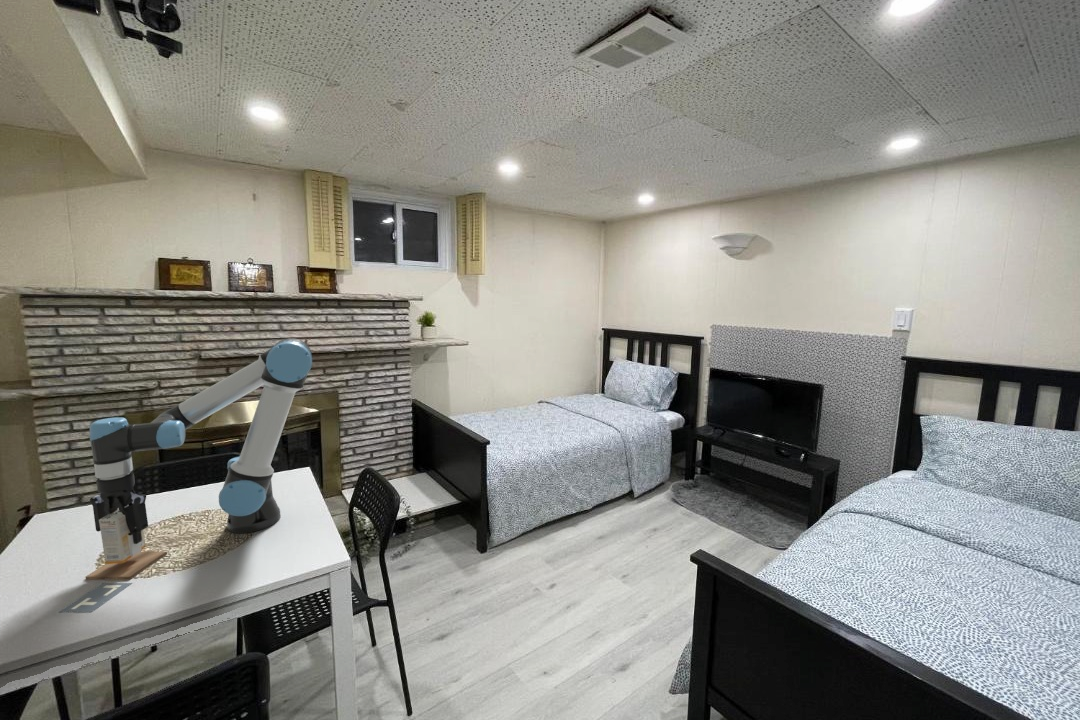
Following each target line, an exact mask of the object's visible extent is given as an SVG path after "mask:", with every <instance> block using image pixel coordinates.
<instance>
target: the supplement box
mask: <svg viewBox="0 0 1080 720" xmlns="http://www.w3.org/2000/svg"><path fill="white" fill-rule="evenodd" d="M99 524H100V530H101V531H100V536H101V542H102V548H103V556H104V561H105V564H115V563H116V564H117V563H124V562H125V561H127V560H128V559H130V558H131V557H132V556H130V550H129V543H128V534H129V533H130V531H129V528H128V526H127V523H126V517H125V515H123V514H122V512H120V511H119V509H118V510H117V511H115V512H113V513H111V514H108V515H107V516H105V517H103V518H101V519H100V520H99ZM135 528H136V527H135ZM141 535H142V541H141V542H140V543H141V550H144V549H145V548H146V547H147V545H146V539H145V529H143V530H142V531H141Z"/></svg>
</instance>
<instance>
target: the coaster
mask: <svg viewBox="0 0 1080 720" xmlns="http://www.w3.org/2000/svg"><path fill="white" fill-rule="evenodd" d="M167 552H168V551H155V550H154V551H153V550H152V551H145V550H143V551H141V552H139V553H138V554H136V555H134V556H132V557H131V558H130V559H128V560H127V561H125V562H124V563H117V564H116V563H115V564H106V563H105V564H103V565H102V566H100V567H99V568H97V569H96V570H94V571H92V572H90V573H89V574H87V575H86V576H85V577H84V578H85V580H95V581H97V580H106V581H107V580H108V581H109V580H112V581H113V580H118V581H119V580H120V581H121V580H122V581H123V580H124V581H125V580H126V581H127V580H132V579H133V578H135V577H136V576H138V575H139V574H140V573H142V572H143V571H145V570H146V569H148V568H149V567H151V566H152V565H154V564H155V563H156V562H158V561H159V560H161V559H162V558H164V556H167V554H168V553H167Z"/></svg>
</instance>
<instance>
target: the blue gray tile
mask: <svg viewBox="0 0 1080 720" xmlns="http://www.w3.org/2000/svg"><path fill="white" fill-rule="evenodd" d="M132 584H133V583H132V582H101V583H99V584H98V585H97V586H95V587H94V588H93V589H91V590H89V591H88V592H86V593H84V595H82V596H80V597H79V598H77V599H76V600H75V601H73V602H71V603H69V604H68V605H66V606H65V607H64V608H62V609H61V610H59V611H58V613H93V612H94V611H95V610H97V609H98V608H100V607H101V606H103V605H104V604H105V603H107V602H108V601H110V600H111V599H113V598H114V597H115V596H117V595H118V594H119V593H121V592H122V591H124V590H125V589H126V588H128V587H130V586H131V585H132Z"/></svg>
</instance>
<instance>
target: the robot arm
mask: <svg viewBox="0 0 1080 720" xmlns="http://www.w3.org/2000/svg"><path fill="white" fill-rule="evenodd" d="M312 355H313V353H312V351H311V348H310V346H309V345H308V344H307V343H306V342H305V341H303V340H302V339H299V338H295V337H288V338H284V339H282V340H279V341H278V342H277V343H275V344H274V345H273V346H272V347H271V348H269V349H268V350H266V351H264V352H263V353H261V354H259V356H258V359H257V360H255V361H253V362H252V363H250V364H248V365H246V366H245V367H243V368H241V369H240V370H238V371H236V372H234V373H232V374H231V375H229V376H227V377H225V378H223V379H222V380H219V381H218V382H217V383H215V384H213V385H210V386H209V387H207V388H206V389H203V390H202V391H200V392H198V393H197V394H195V395H194V396H191V397H189V398H188V399H186V400H184V401H182V402H180V403H179V404H177V405H175V406H174V407H172V408H170V409H166V410H164V411H163V412H161V413H160V414H159V415H158V416H157V417H156V418H155V419H153V420H152V421H151V422H147V423H136V424H135V423H134V424H129V422H128V420H127V419H126V418H125V417H118V416H117V417H108V418H107V417H106V418H103V419H102V418H101V419H98V420H95V421H93V422H92V423H91V424H90V426H89V442H90V447H91V452H92V459H93V466H94V477H95V478H97V479H96V481H95V482H96V489H97V492H98V493H100V494H97V495H94V496H92V497H90V498H89V501H90V504H91V506H92V511H93V519H94V526H95V531H96V532H98V533H99V532H101V530H100V524H99V520H100V519H101V518H103V517H105V516H107V515H108V514H111V513H113V512H115V511H117V510H118V509H119V511H120V512H122V514H123V515H125V517H126V523H127V526H128V528H129V531H130V533H129V534H128V543H129V550H130V556H134V555H136V554H138V553H139V552H141V551H142V550H143V549H142V550H141V543H140V542H141V541H142V535H141V531H142V530H145V529H147V528H148V527H149V522H148V520H149V519H148V515H147V508H146V499H147V495H146V494H141V495H139V494H137V493H136V491H135V490H134V486H135V484H136V481H135V472H134V471H133V470H134V466H133V465H134V464H133V458H132V453H135V452H143V451H144V452H145V451H152V450H153V451H154V450H162V449H165V450H167V449H171V448H175V447H176V448H177V447H180V446H182V445H183V444H184V443H185V440H186V431H187V429H189V428H192V427H193V426H194V425H197V423H200V422H201V421H202V420H205V419H206V418H208V417H209V416H212V415H213V414H214V413H216V412H218V411H221V410H222V409H224V408H225V407H227V406H229V405H231V404H232V403H234V402H236V401H237V400H239V399H241V398H243V397H245V396H247V395H248V394H250V393H251V392H254V391H255V390H257V389H259V388H260V387H262V386H263V389H262V391H261V394H260V397H259V400H258V403H257V405H256V409H255V412H254V414H253V418H252V420H251V424H250V427H249V429H248V431H247V435H246V438H245V441H244V444H243V446H242V450H241V451H240V454H239V456H235V457H232V458H231V459H229V460H228V462H227V466H226V469H227V475H226V478H225V481H224V483H223V486H222V489H220V491H219V494H218V504H219V507H220V509H222V511H223V512H225V513H226V514H228V517H227V521H226V525H227V530H228V531H229V532H231V533H233V534H234V533H235V534H246V533H253V532H259V531H261V530H263V529H266V528H268V527H270V526H272V525H275V524H276V523H277V522H279V520H280V518H281V510H280V507H279V506H278V503H277V501H276V499H275V498H274V495H273V484H272V478H273V475H274V473H275V470H274V468H273V467H272V465H271V464H272V461H273V458H274V456H275V452H276V451H277V447H278V445H279V441H280V438H281V436H282V432H283V430H284V427H285V423H286V421H287V417H288V415H289V412H290V411H291V410H290V409H291V407H292V403H293V401H294V397H295V395H296V393H297V392H299V391H300V390H303V388H304V386H305V382H306V380H307V377H308V374H309V372H311V368H312V365H313V356H312ZM135 527H136V528H135Z"/></svg>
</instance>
